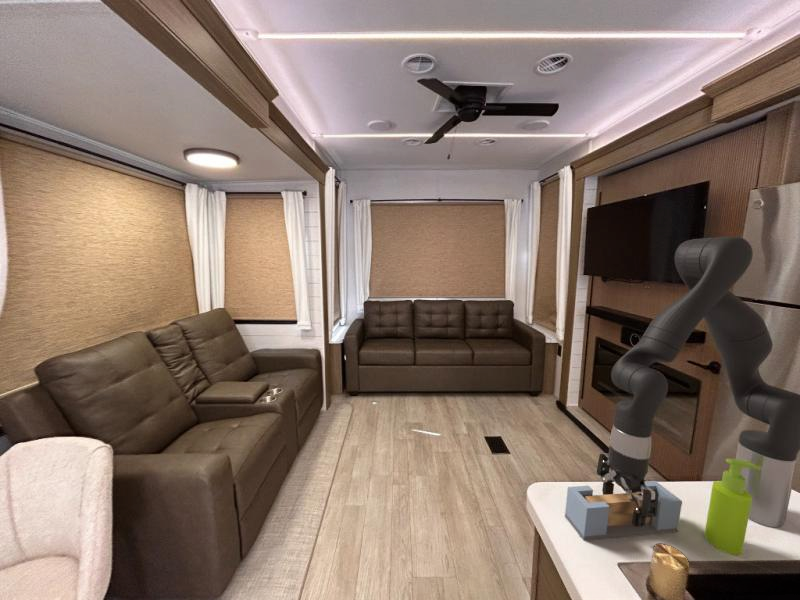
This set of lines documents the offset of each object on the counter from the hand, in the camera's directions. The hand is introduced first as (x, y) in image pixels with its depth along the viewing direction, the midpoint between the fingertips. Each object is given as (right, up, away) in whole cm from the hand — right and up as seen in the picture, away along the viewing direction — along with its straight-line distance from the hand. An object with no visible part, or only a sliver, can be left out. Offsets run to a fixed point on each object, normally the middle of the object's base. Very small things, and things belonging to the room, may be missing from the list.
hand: (621, 510), depth 73 cm
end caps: (0, -4, 0) cm, 4 cm away
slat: (0, -3, 0) cm, 3 cm away
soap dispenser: (+21, -5, -4) cm, 22 cm away
